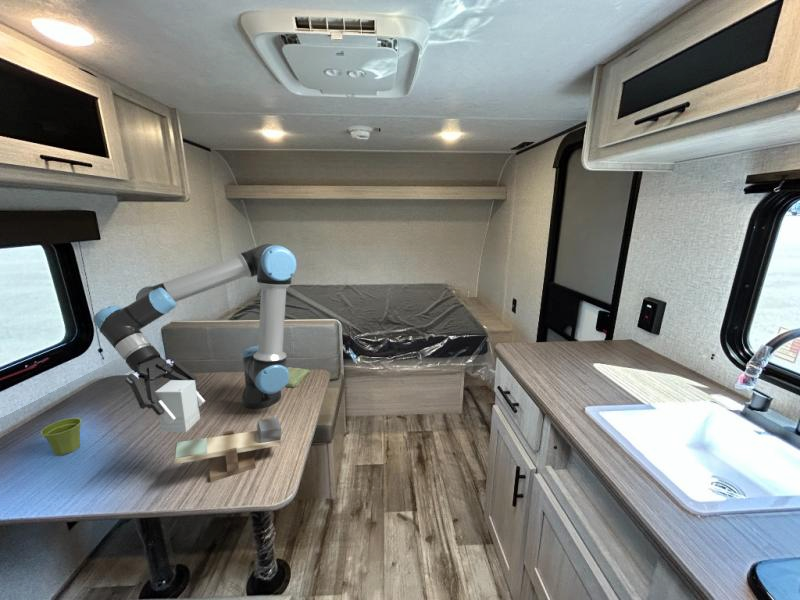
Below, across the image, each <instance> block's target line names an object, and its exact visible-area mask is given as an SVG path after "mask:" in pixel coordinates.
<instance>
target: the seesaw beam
mask: <svg viewBox="0 0 800 600" xmlns="http://www.w3.org/2000/svg"><path fill="white" fill-rule="evenodd" d="M282 429H283V428H282V426H281V424H280V421H279V419H278V417H277V416H276V417H270V418H264V419H258V420H257V427H256V430H252V431H246V432H240V433H239V432H238V433H234V434H232V435H226V436H223V435H221V436H219V435H218V436H213V437H204V438H203V437H202V438H198V439H196V438H195V439H189V440H184V441H178V442H176V443H175V449H174V460H173V463H174V464H173V465H177V464H183V463H184V464H185V463H189V462H190V463H191V462H195V461H199V460H200V461H201V460H206V459H209V458H212V457H218V456H223V455H225V451H226V450H229V449H233V448H236V449H237V453H240V452H245V451H251V450H252V451H255V450H261V449H268V448H273V447H277V446H281V444H282Z"/></svg>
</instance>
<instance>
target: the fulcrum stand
mask: <svg viewBox="0 0 800 600" xmlns="http://www.w3.org/2000/svg"><path fill="white" fill-rule="evenodd" d="M232 434H235V431H234V429H231V430H227V431H223V432H222V436H226V435H232ZM208 463H209V464H208V465H209V466H208V467H209V480H210V483H213V482H216V481H219V480H221V479H222V480H223V479H224V478H228V477H232V476H234V475H238V474H240V473H243V472H246V471H251V470H253V469H256V462H255V457H254V453H253V450H251V451H245V452H240V453H237V449H236V448H233V449H229V450H226V451H225V455H223V456H218V457H212V458H208Z"/></svg>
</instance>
